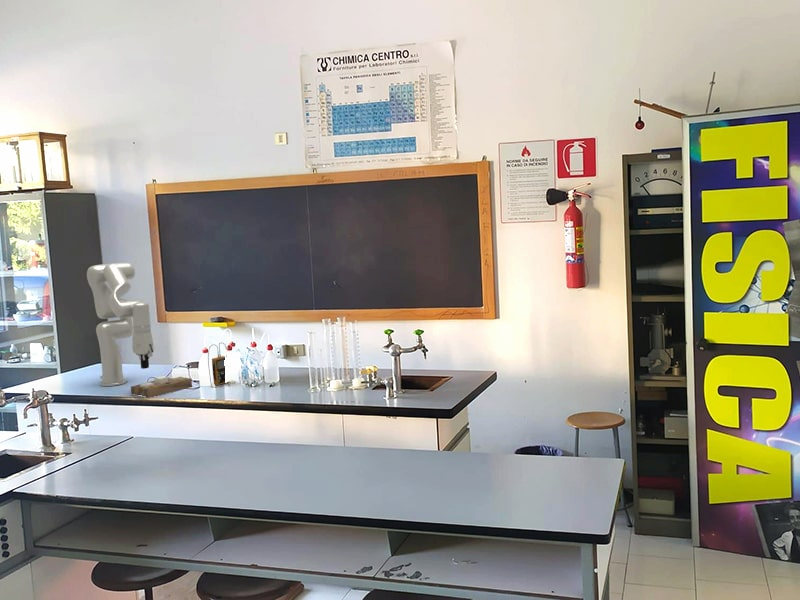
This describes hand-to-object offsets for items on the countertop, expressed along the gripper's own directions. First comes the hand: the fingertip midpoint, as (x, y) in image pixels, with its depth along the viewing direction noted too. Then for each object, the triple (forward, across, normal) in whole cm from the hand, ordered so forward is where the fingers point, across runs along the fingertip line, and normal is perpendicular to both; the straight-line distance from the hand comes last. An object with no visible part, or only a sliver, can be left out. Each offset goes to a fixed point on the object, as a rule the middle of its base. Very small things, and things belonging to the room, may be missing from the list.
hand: (145, 368), depth 352 cm
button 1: (+12, +1, 0) cm, 12 cm away
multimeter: (+12, +21, +30) cm, 39 cm away
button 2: (+12, +1, +16) cm, 20 cm away
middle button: (+11, +1, +8) cm, 13 cm away
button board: (+12, +1, +8) cm, 15 cm away
